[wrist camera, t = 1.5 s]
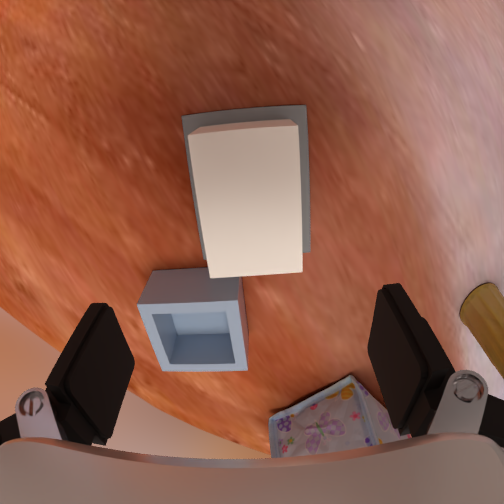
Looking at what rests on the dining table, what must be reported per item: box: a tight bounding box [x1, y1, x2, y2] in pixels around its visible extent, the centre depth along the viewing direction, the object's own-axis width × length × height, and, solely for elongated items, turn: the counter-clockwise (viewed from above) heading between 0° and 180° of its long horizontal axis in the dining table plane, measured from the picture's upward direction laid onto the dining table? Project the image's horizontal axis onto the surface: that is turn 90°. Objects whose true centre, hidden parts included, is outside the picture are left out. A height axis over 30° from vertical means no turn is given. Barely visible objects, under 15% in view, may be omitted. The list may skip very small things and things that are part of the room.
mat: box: [182, 105, 310, 260], centre depth 24 cm, size 12×9×1 cm
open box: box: [137, 267, 249, 371], centre depth 28 cm, size 8×8×5 cm
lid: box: [188, 119, 302, 278], centre depth 22 cm, size 10×6×4 cm, turn 5°
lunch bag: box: [268, 375, 411, 458], centre depth 29 cm, size 22×17×26 cm
